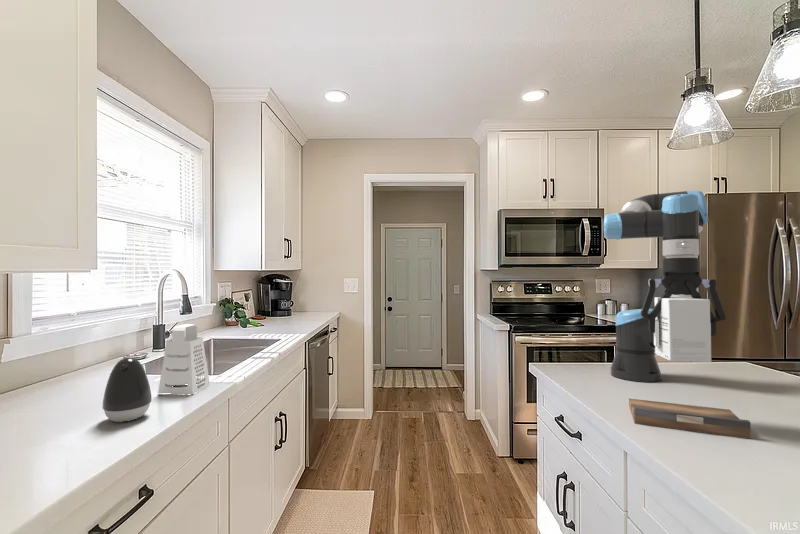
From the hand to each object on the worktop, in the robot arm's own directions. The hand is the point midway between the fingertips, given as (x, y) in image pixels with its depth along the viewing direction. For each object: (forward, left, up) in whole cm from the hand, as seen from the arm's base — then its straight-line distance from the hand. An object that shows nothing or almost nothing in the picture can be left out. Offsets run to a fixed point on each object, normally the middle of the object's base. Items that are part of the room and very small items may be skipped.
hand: (681, 347), depth 101 cm
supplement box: (0, 0, -3) cm, 3 cm away
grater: (+33, -135, -18) cm, 140 cm away
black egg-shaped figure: (+56, -126, -18) cm, 139 cm away
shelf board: (+1, 0, -18) cm, 18 cm away
